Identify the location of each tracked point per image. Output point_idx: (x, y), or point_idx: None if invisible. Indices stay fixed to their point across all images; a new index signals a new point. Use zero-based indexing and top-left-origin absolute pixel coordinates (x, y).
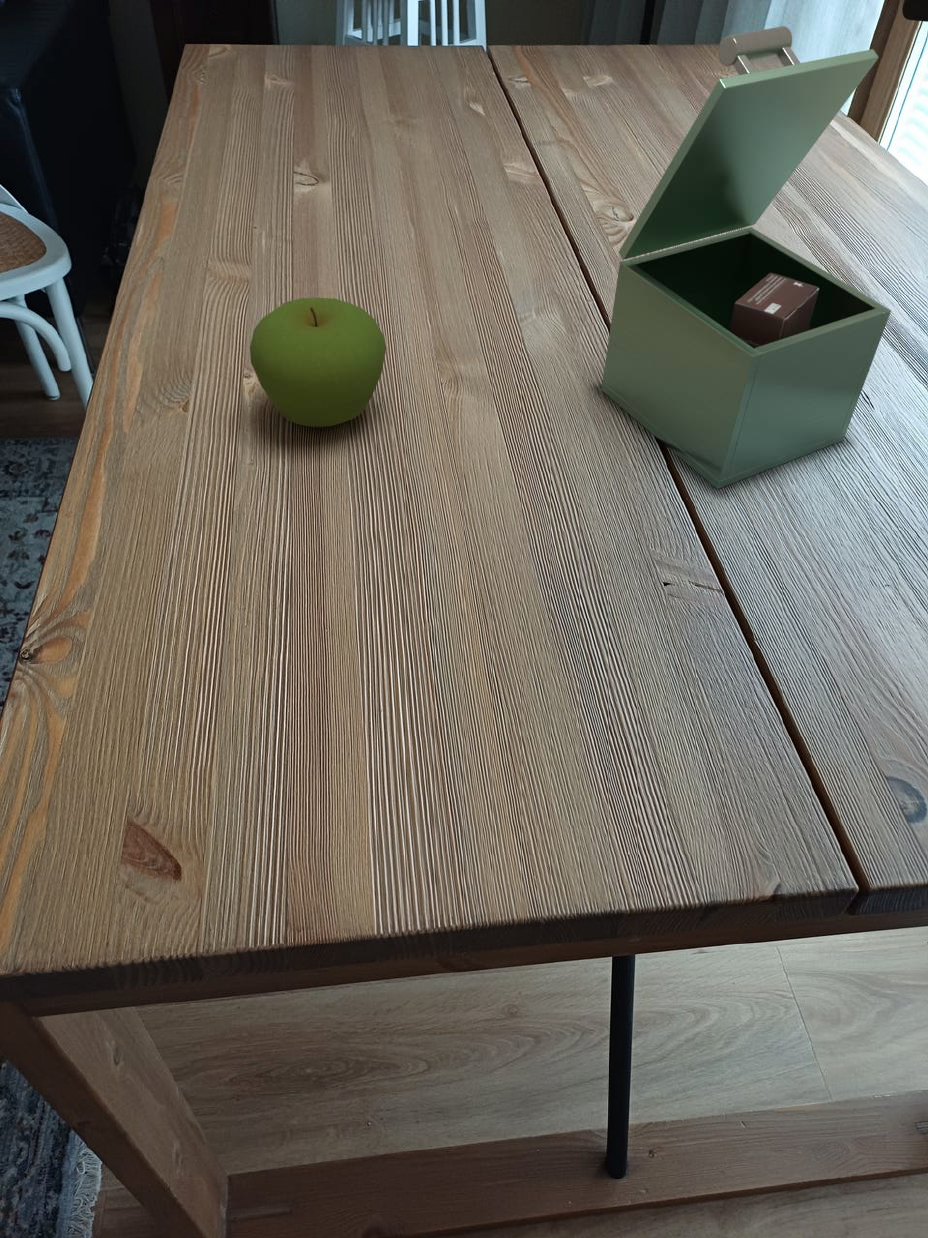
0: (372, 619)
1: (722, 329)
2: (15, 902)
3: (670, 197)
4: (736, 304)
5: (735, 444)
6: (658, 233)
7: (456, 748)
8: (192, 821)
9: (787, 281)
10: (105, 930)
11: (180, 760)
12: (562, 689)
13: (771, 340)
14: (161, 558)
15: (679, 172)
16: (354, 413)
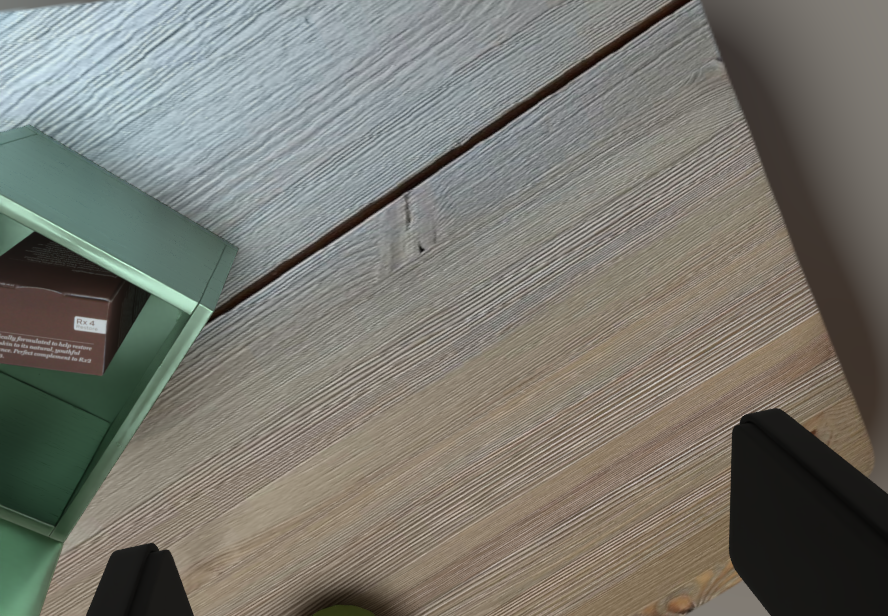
0: (573, 450)
1: (166, 366)
2: None
3: (27, 570)
4: (103, 372)
5: (221, 259)
6: (15, 537)
7: (672, 332)
8: None
9: None
10: (853, 443)
11: None
12: (588, 285)
13: (120, 298)
14: (573, 610)
15: (34, 595)
16: (357, 609)
